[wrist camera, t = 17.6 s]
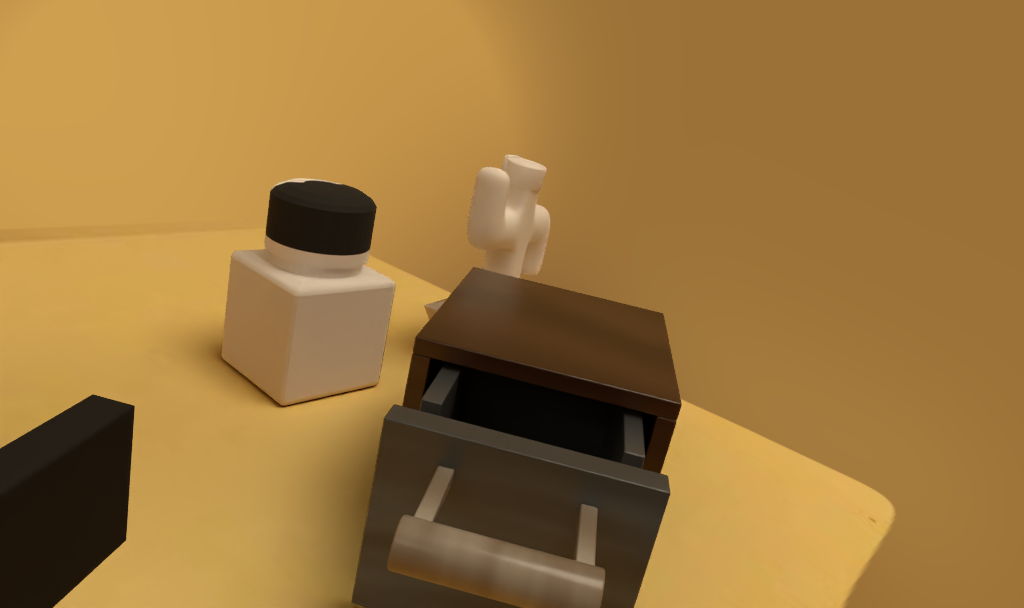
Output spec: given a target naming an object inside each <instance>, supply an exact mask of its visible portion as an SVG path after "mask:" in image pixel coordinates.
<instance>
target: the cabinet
mask: <svg viewBox="0 0 1024 608" xmlns="http://www.w3.org/2000/svg"><path fill="white" fill-rule="evenodd" d="M445 362H449V363H453V364H457V365H461V366H465V367H469V368H473V369H476V370H480V371H484V372H488V373H492V374H496V375H500V376H504V377H508V378H512V379H516V380H519V381H523V382H527V383H531V384H535V385H539V386H543V387H547V388H551V389H555V390H559V391H563V392H566V393H570V394H574V395H578V396H582V397H586V398H590V399H594V400H598V401H602V402H606V403H609V404H613V405H617V406H621V407H625V408H629V409H633V410H637V411H641V412H642V420H643V434H644V448H645V460H644V464H643V467H642V469H644V470H648V471H652V472H656V473H661V470H662V467H663V463H664V460H665V457H666V454H667V451H668V447H669V444H670V441H671V438H672V435H673V431H674V428H675V425H676V420H677V418H678V415H679V412H680V408H681V399H680V394H679V389H678V385H677V380H676V374H675V370H674V364H673V359H672V354H671V350H670V345H669V340H668V335H667V330H666V325H665V320H664V315H663V313H659V312H655V311H650V310H646V309H642V308H638V307H634V306H630V305H626V304H622V303H618V302H614V301H610V300H606V299H602V298H598V297H593V296H590V295H585V294H581V293H577V292H573V291H569V290H565V289H561V288H557V287H553V286H548V285H545V284H541V283H537V282H532V281H528V280H524V279H520V278H516V277H512V276H508V275H504V274H500V273H496V272H492V271H488V270H484V269H480V268H475V267H473V268H472V269H471V271H470V272H469V273H468V274H467V275H466V277H465V278H464V279H463V280H462V282H461V283H460V284H459V285H458V286H457V288H456V289H455V290H454V291H453V293H452V294H451V295H450V296H449V297H448V298H447V300H446V301H445V302H444V303H443V304H442V306H441V307H440V308H439V309H438V311H437V312H436V313H435V314H434V315H433V317H432V318H431V319H430V320H429V321H428V323H427V324H426V325H425V326H424V327H423V329H422V330H421V331H420V332H419V333H418V335H417V336H416V337H415V342H414V348H413V354H412V358H411V363H410V368H409V374H408V379H407V385H406V390H405V395H404V401H403V407H407V408H411V409H415V410H418V411H419V410H420V404H421V399H422V398H423V396H424V395H425V393H426V392H427V390H428V388H429V387H430V385H431V384H432V382H433V381H434V379H435V378H436V376H437V374H438V373H439V371H440V370H441V368H442V367H443V365H444V363H445Z"/></svg>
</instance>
